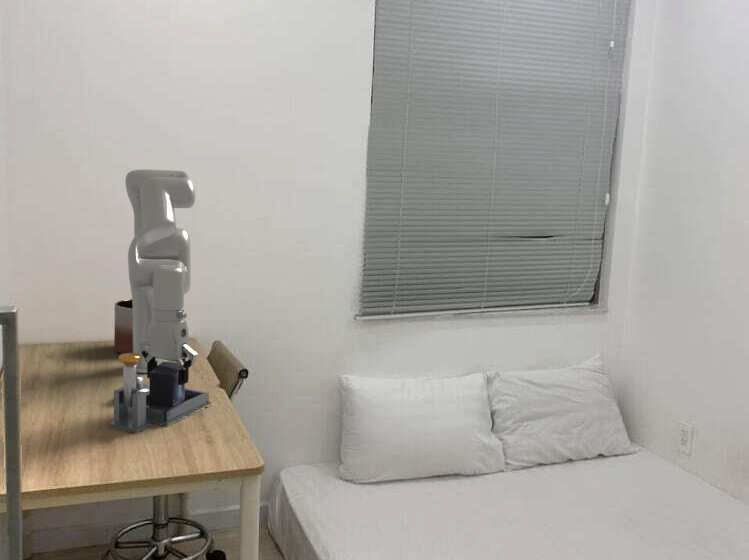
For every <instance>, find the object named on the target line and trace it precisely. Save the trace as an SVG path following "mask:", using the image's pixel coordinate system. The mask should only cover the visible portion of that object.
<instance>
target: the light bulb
mask: <svg viewBox="0 0 749 560" xmlns="http://www.w3.org/2000/svg"><path fill="white" fill-rule="evenodd" d="M140 360H141V355H140V354H137V353H124V354H121V353H120V354H119V355H118V362H120V363H121V364H123V365H122V367H123V368H122V370H123V371H122V377H123V379H122V381H123V382H122V386H123V406H124V407H132V394H134V393H137V375H138V372H137V362H139V361H140Z"/></svg>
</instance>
